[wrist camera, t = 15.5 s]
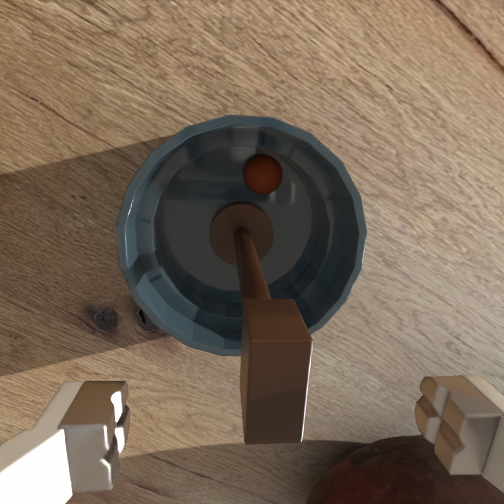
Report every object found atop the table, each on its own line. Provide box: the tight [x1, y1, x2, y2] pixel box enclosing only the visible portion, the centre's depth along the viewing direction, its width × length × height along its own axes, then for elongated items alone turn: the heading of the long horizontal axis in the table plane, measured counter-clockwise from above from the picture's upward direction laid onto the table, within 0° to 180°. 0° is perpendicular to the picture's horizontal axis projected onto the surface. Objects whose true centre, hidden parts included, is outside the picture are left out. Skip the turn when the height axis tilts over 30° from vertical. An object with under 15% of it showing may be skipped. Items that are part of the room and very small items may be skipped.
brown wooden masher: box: [210, 201, 313, 445], centre depth 20 cm, size 5×5×20 cm
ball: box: [244, 155, 283, 194], centre depth 27 cm, size 3×3×3 cm
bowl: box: [116, 115, 367, 356], centre depth 27 cm, size 17×17×6 cm
